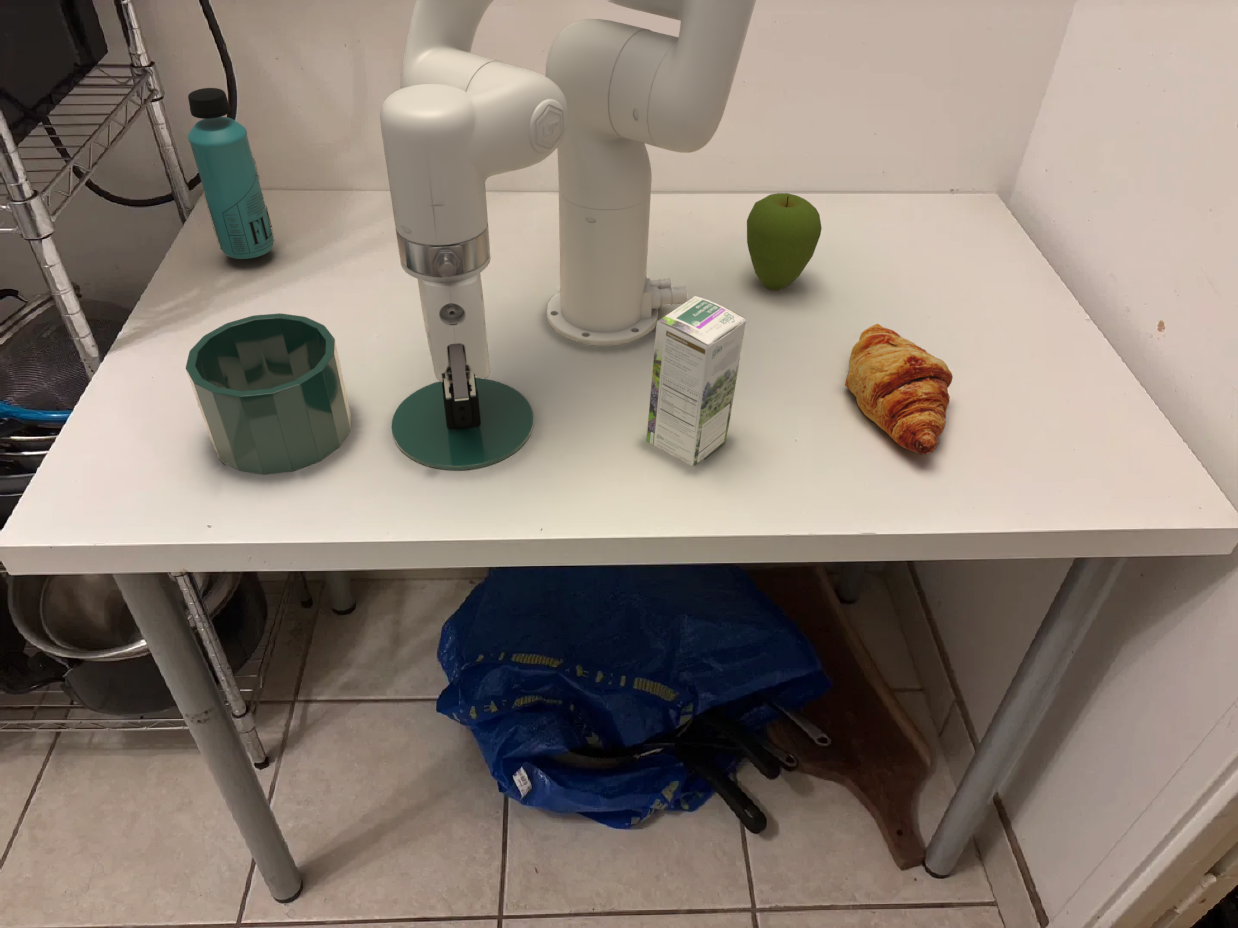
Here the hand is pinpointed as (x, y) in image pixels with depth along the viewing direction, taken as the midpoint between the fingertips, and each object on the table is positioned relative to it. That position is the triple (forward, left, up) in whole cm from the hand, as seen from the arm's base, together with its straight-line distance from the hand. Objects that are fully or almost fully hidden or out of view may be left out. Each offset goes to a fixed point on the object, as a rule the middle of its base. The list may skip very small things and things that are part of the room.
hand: (462, 414), depth 90 cm
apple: (-39, -21, -2) cm, 44 cm away
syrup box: (-21, +6, -2) cm, 22 cm away
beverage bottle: (+23, -37, -2) cm, 44 cm away
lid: (0, 0, -1) cm, 1 cm away
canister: (+17, -2, -2) cm, 17 cm away
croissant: (-44, +3, -2) cm, 44 cm away
